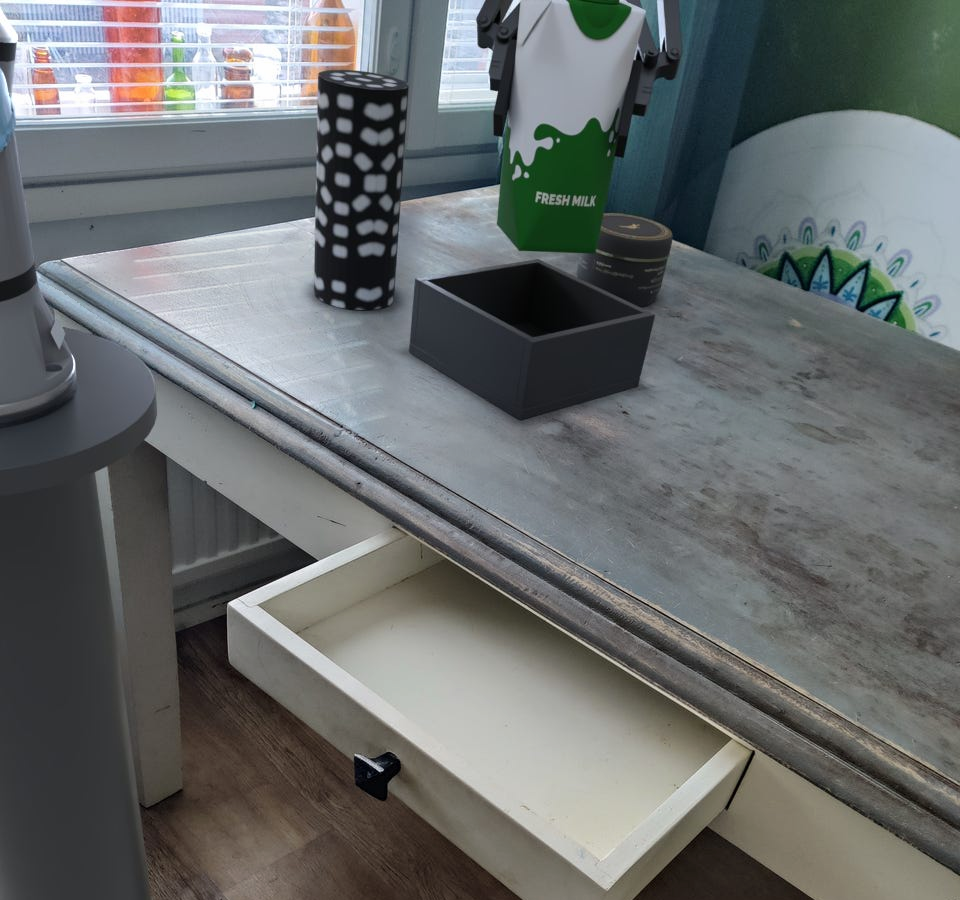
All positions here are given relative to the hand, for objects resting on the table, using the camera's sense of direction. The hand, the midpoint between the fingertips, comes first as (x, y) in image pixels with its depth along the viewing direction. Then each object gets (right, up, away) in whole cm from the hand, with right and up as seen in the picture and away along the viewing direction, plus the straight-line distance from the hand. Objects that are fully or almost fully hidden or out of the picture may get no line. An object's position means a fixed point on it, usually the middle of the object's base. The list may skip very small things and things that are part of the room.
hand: (559, 136), depth 78 cm
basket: (-2, -14, +15) cm, 21 cm away
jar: (+9, 0, +36) cm, 37 cm away
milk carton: (-1, -5, +8) cm, 10 cm away
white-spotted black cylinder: (-20, -4, +25) cm, 32 cm away
